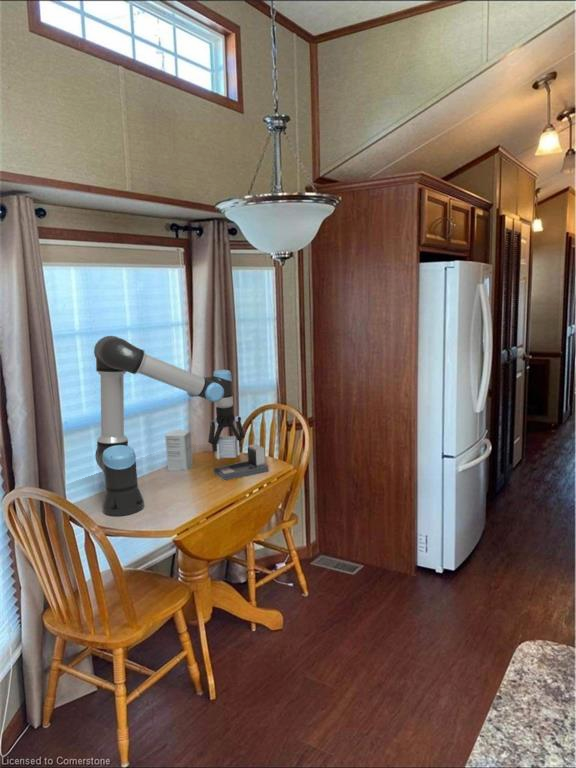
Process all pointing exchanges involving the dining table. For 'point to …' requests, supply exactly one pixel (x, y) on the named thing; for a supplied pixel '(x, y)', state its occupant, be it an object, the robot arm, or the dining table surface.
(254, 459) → the grey tray stand
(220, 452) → the medicine box
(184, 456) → the supplement box
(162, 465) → the dining table surface
